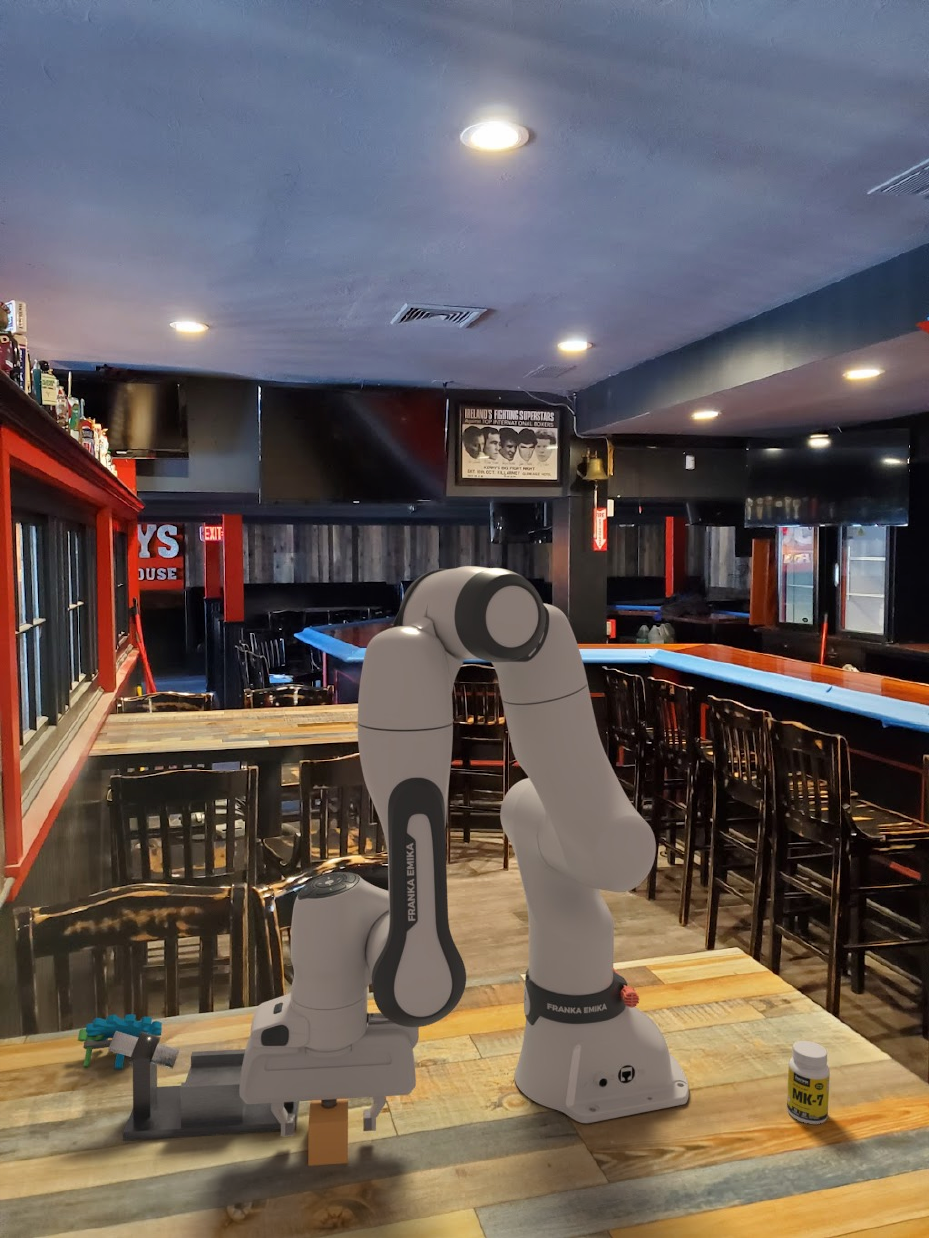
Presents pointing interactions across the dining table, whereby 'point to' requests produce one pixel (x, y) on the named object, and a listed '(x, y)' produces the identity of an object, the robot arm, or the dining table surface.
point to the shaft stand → (190, 1093)
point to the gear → (105, 1029)
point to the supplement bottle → (808, 1083)
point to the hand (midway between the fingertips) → (328, 1130)
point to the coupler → (328, 1132)
